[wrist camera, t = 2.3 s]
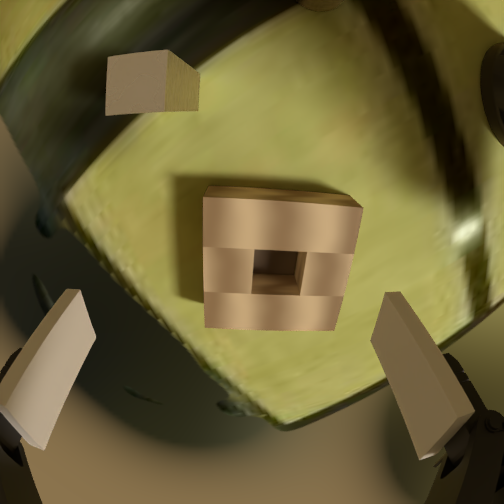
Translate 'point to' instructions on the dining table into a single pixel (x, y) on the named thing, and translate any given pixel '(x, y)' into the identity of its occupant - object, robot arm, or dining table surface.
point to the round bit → (320, 4)
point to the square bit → (150, 84)
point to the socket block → (276, 257)
